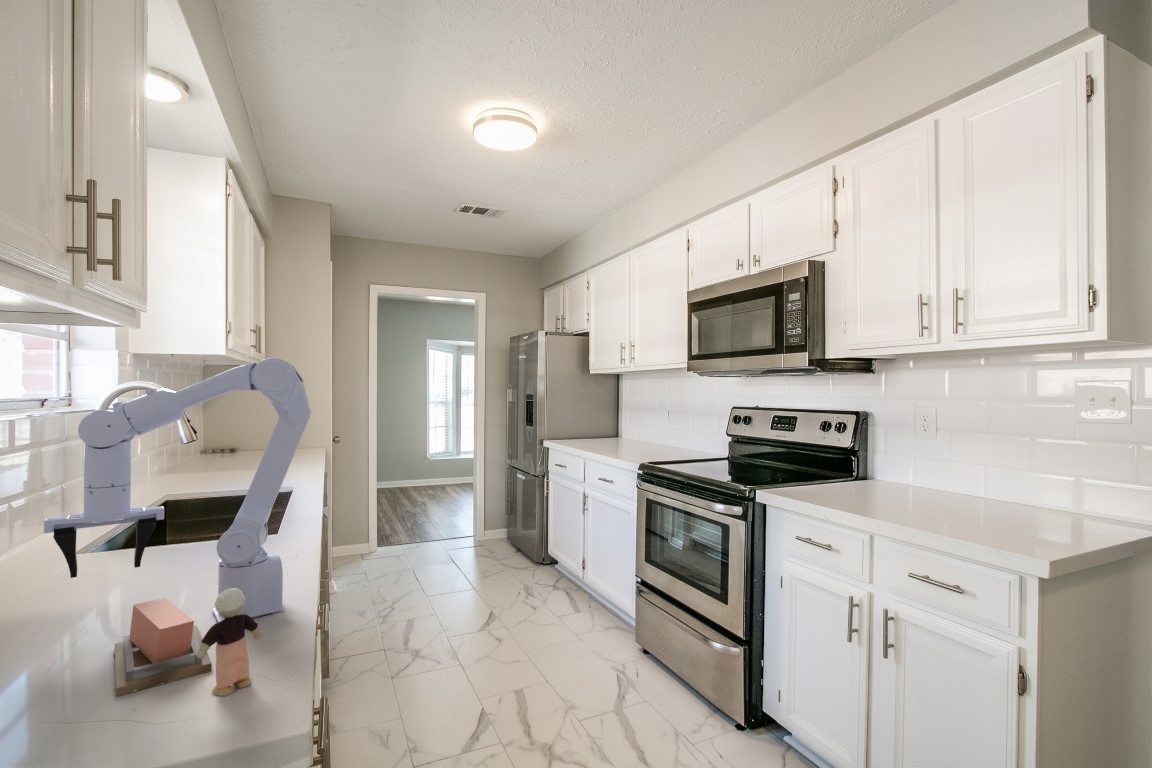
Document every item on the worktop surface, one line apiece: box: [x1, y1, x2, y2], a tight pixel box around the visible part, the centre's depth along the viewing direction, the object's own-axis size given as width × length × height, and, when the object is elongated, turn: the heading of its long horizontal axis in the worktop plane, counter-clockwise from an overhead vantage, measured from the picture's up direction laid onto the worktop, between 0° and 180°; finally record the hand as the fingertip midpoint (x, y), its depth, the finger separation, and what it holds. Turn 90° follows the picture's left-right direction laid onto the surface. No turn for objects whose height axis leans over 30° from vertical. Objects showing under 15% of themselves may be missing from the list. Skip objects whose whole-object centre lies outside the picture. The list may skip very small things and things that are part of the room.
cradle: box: [114, 625, 213, 697], centre depth 78 cm, size 10×16×2 cm, turn 40°
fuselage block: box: [129, 597, 195, 663], centre depth 79 cm, size 4×10×5 cm, turn 55°
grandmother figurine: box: [196, 588, 264, 697], centre depth 71 cm, size 8×4×13 cm, turn 159°
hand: (106, 570), depth 88 cm, fingers open, 7 cm apart
